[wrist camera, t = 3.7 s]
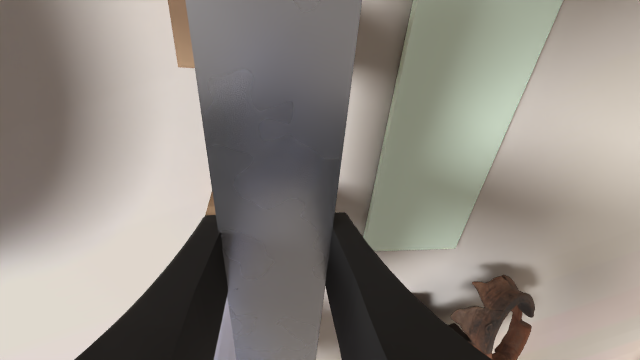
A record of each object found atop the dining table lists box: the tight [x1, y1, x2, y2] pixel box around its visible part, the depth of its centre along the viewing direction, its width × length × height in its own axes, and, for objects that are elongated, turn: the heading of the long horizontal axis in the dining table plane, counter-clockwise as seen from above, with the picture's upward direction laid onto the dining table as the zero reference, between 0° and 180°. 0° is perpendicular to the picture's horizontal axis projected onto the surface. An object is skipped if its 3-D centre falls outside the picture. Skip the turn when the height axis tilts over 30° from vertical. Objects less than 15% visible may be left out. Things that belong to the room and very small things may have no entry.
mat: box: [363, 0, 563, 251], centre depth 21 cm, size 20×8×1 cm, turn 175°
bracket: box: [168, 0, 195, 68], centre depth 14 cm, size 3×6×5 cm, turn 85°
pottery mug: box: [448, 275, 535, 360], centre depth 30 cm, size 12×10×8 cm
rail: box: [185, 0, 362, 360], centre depth 11 cm, size 18×3×3 cm, turn 176°
